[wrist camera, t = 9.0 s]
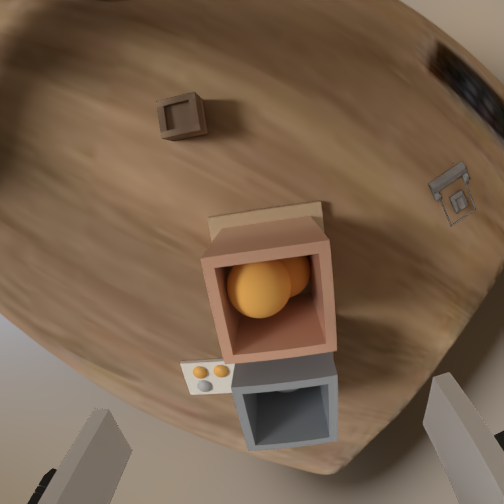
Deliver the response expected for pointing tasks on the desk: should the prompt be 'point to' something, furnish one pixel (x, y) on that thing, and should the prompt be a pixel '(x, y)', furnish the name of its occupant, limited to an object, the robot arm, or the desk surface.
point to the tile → (208, 376)
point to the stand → (181, 117)
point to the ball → (259, 288)
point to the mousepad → (446, 179)
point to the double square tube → (278, 328)
